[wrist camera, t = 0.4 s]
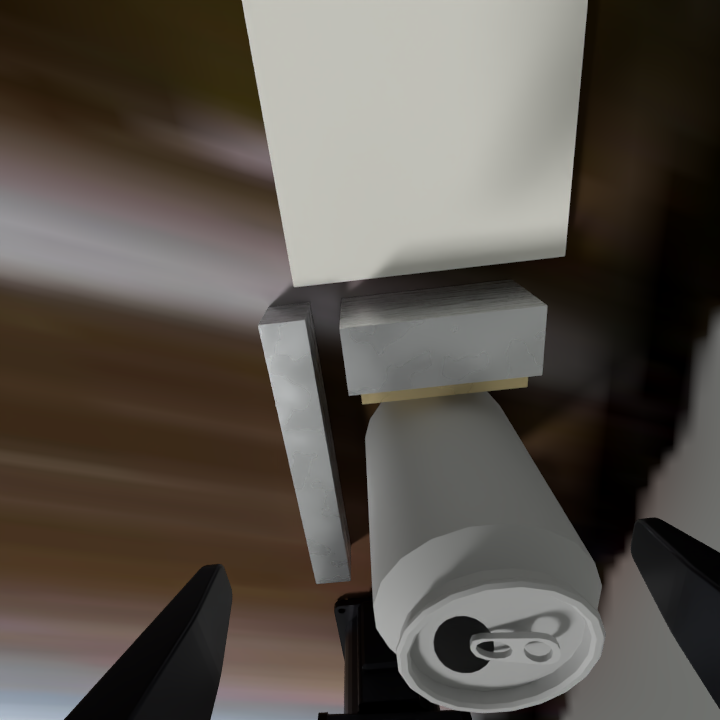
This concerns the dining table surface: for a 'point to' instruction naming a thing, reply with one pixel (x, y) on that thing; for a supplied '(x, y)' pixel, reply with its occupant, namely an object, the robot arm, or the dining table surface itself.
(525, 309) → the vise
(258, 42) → the tray
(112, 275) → the dining table surface
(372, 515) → the can
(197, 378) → the dining table surface
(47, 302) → the dining table surface
